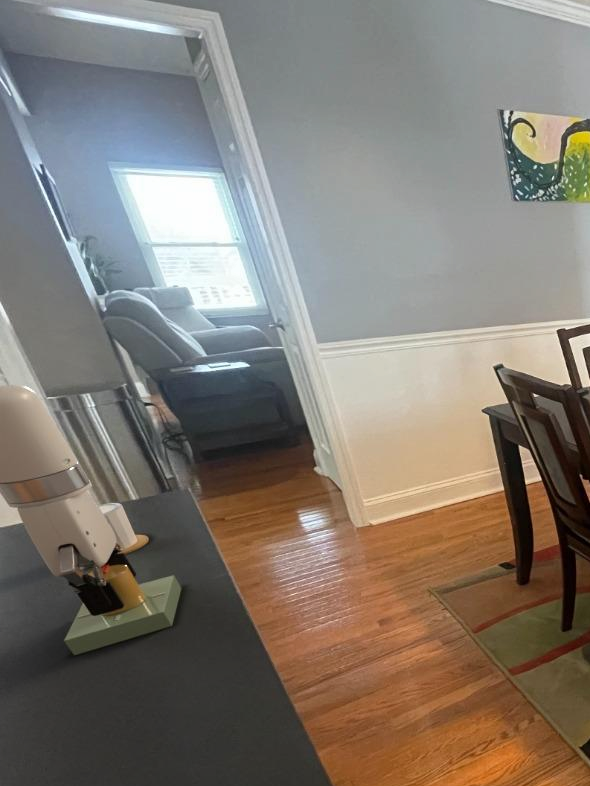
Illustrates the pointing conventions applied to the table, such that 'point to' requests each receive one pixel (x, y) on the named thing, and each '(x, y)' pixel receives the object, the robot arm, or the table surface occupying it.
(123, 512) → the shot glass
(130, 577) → the tap handle
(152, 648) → the table surface
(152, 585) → the base
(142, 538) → the coaster
